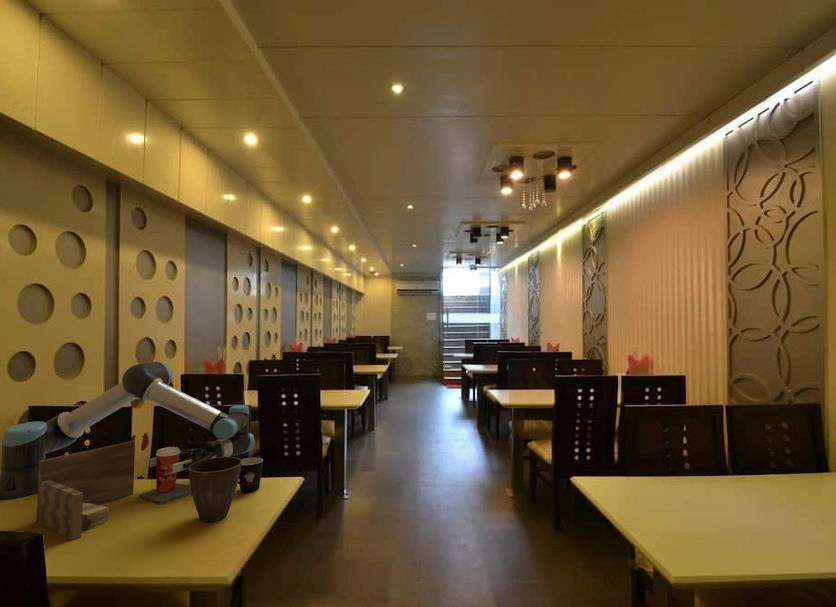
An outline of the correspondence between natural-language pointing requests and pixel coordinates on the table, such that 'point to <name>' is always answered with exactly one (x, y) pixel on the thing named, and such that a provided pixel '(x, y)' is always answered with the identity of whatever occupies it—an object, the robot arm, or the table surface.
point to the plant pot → (214, 486)
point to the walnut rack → (82, 485)
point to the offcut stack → (94, 515)
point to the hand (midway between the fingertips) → (161, 465)
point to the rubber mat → (167, 494)
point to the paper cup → (166, 469)
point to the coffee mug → (250, 474)
